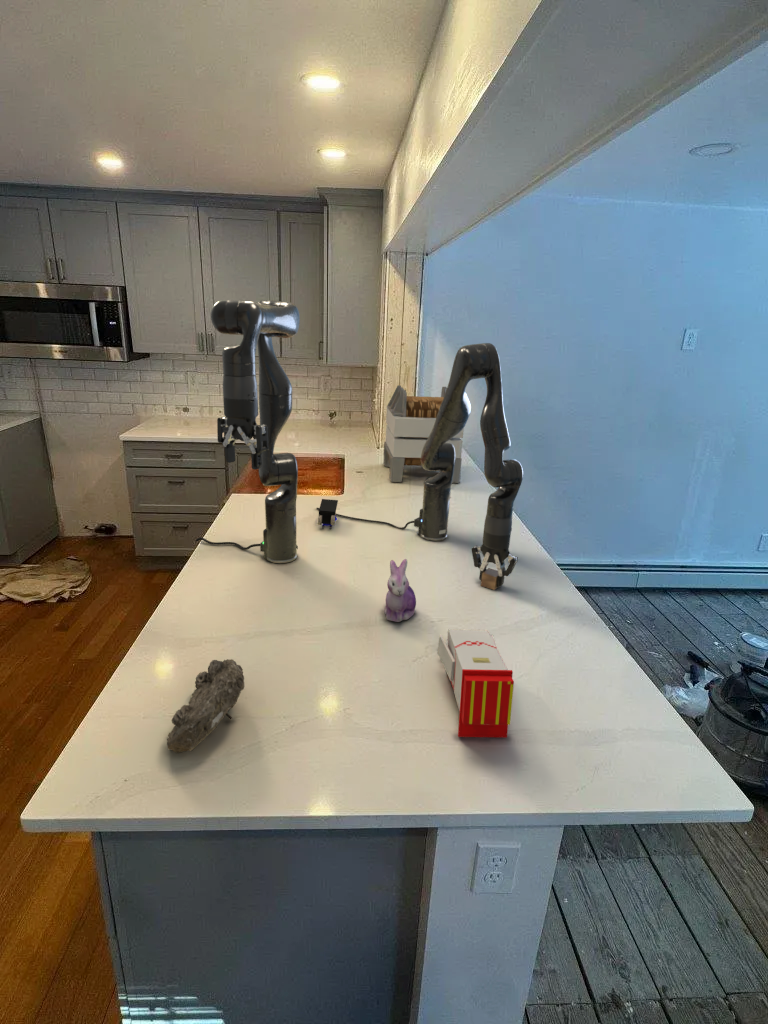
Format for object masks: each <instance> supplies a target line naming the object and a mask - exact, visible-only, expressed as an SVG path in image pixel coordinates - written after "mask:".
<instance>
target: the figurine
mask: <svg viewBox="0 0 768 1024" xmlns="http://www.w3.org/2000/svg"><path fill="white" fill-rule="evenodd" d="M407 567H408V559H406V558H404V559H403V560H402V561H401V563H400V565H399V566H398V565H397V563H396V562H395V561H394V560H393V559H391V560H390V561H389V570H390V576H389V578H388V579H387V589H388V591H387V592H386V594H385V595H386V596H385V607H384V615H385V616H386V620H387V621H391V622H395V623H400V622H402V621H406V620H409V619H410V618H411V617H413V616H414V615H415V610H416V606H417V597H416V593H415V591H414V590H413V587H411V586H410V582H409V579H408V577H407V574H406V571H407Z"/></svg>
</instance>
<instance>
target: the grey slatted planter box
mask: <svg viewBox="0 0 768 1024" xmlns="http://www.w3.org/2000/svg"><path fill="white" fill-rule="evenodd" d="M447 387H448V386H442V387H441V392H440V393H441V394H440V396H415V395H414V396H413V395H412V396H411V395H407V394H408V393H407V390H406V389H404V388H403V387H402V385H399V384H398V385H397V386H396V388H395V390H394V392H393V394H392V395H391V398H390V400H389V402H388V404H387V405H386V413H385V414H386V415H385V423H386V428H385V438H384V442H383V466H384V467H388V468H389V475H388V476H389V477H388V478H389V480H390V482H391V483H402V482H403V475H404V469H405V466H406V467H407V466H411V467H412V466H413V467H415V466H416V467H417V466H418V467H422V465H421V453H422V449H423V447H424V445H425V443H426V441H427V439H428V437H429V435H430V433H431V431H432V428H433V426H434V423H435V420H436V417H437V414H438V411H439V408H440V406H441V403H442V401H443V399H444V396H445V393H446V390H447ZM464 429H465V427H464V428H463V429H462V431H461V432H459V433H458V434H457V435H456V436H454V437H453V438H451V439H450V440H448V441H447V442H446V443H450V444H452V445H453V446H454V448H455V465H454V472H453V480H452V484H455V483H456V484H459V483H461V472H462V461H463V460H462V453H463V442H464V441H463V440H462V439H463V438H464V431H465V430H464Z"/></svg>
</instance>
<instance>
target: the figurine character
mask: <svg viewBox="0 0 768 1024" xmlns="http://www.w3.org/2000/svg"><path fill="white" fill-rule="evenodd" d="M338 503H339V500H338V499H326V498H321V501H320V505H319V507H318V508H319V510H318V516H317V517H318V518H317V526H321V529H322V530H324V528H325V527H329V530H332V528H333V526H335V525H336V521H338V518H337V515H336V514H337V508H338Z"/></svg>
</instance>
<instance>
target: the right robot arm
mask: <svg viewBox="0 0 768 1024" xmlns="http://www.w3.org/2000/svg"><path fill="white" fill-rule="evenodd" d="M453 359H454V360H453V364H452V368H451V371H450V375H449V379H448V384H447V386H446V387H447V390H446V393H445V396H444V399H443V401H442V403H441V406H440V408H439V411H438V414H437V417H436V420H435V423H434V426H433V428H432V431H431V433H430V435H429V437H428V439H427V441H426V443H425V445H424V447H423V449H422V453H421V465H422V466H421V467H422V468H423V470H425V471H428V472H429V471H430V472H438V473H436V474H435V475H433V476H431V477H428V478H427V479H425V480H424V482H423V493H422V496H423V497H422V506H421V508H420V509H419V516H418V517H416V518H414V520H410V521H408V522H407V523H406V524H405V525H404V526H402V527H399V526H397V525H394V524H392V523H390V522H387V521H381V520H372V519H365V518H358V517H354V516H348V515H343V514H339V513H336V517H340V518H345V519H350V520H353V521H354V520H355V521H362V522H368V523H376V524H383V525H388V526H390V527H393V528H395V529H398V530H406V528H408V526H409V525H411V524H413V527H416V528H418V530H417V535H418V536H420V538H421V539H424V540H426V541H432V542H440V541H444V540H446V539H447V538H448V525H449V517H450V516H449V514H450V504H451V494H452V493H451V491H452V484H453V483H452V480H453V472H454V465H455V448H454V446H453V445H452V444H450V443H446V442H447V441H448V440H450V439H451V438H453V437H454V436H456V435H457V434H458V433H459V432H461V431H462V429H463V428H464V429H465V426H466V424H467V423H468V420H469V418H470V416H471V412H472V406H471V405H472V404H471V402H470V399H469V397H468V394H467V393H466V390H467V389H466V388H467V387H468V384H469V382H470V381H472V380H477V379H478V380H479V379H484V380H485V384H486V396H485V401H484V404H483V408H482V409H481V414H480V419H479V426H480V427H479V428H480V433H481V436H482V442H483V445H484V462H483V463H484V464H483V466H484V468H483V472H484V477H485V480H486V482H487V484H488V485H490V486H491V487H492V488H497V490H495V491H494V492H492V493H491V494H489V496H488V499H487V505H486V507H487V508H486V514H485V518H484V524H483V525H484V526H483V534H482V544H481V545H480V546H479V545H478V544H475V545H474V546H473V547H472V548H471V554H472V560H473V565H474V567H475V568H478V569H479V577H478V579H479V580H480V581H481V580H482V573H483V572H484V571H486V570H487V569H488V566H489V564H491V563H492V564H494V565H495V568H496V570H497V571H498V577H497V586H496V587H497V588H498V589H499V588H500V587H502V586H503V585H504V583H505V577H509V576H510V575H511V574H512V573H513V571H514V569H515V567H516V565H517V563H518V561H519V557H518V556H514V555H512V554H511V553H510V552H511V551H510V543H511V536H512V535H511V534H512V530H513V528H512V527H513V511H514V503H515V500H516V498H517V496H518V493H519V491H520V488H521V486H522V483H523V479H524V469H523V466H522V464H521V462H520V461H519V460H517V459H515V458H509V459H504V452H505V451H507V450H509V449H510V448H511V446H512V445H511V444H512V443H511V438H510V433H509V430H508V425H507V420H506V416H505V408H504V395H503V381H502V370H501V369H502V368H501V361H500V355H499V352H498V349H497V347H496V346H495V345H494V344H493V343H491V342H483V343H473V344H465V345H463V346H461V347H460V348H459V349H458V350H457V351H456V354H455V357H454V358H453ZM319 508H320V507H316V508H315V509H316V510H318V511H319ZM481 553H482V555H483V559H482V557H481ZM507 559H508V562H507V563H508V566H507V568H506V560H507Z"/></svg>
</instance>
